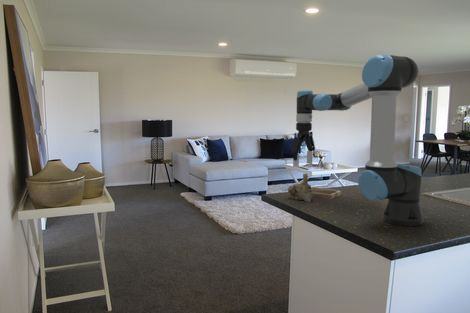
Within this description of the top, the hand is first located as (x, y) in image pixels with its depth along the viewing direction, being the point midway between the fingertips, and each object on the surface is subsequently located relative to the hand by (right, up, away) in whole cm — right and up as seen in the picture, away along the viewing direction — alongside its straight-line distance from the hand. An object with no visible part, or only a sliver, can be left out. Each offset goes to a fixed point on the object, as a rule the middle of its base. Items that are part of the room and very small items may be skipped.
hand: (302, 165), depth 187 cm
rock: (-1, -17, +2) cm, 17 cm away
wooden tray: (+12, -16, +12) cm, 23 cm away
